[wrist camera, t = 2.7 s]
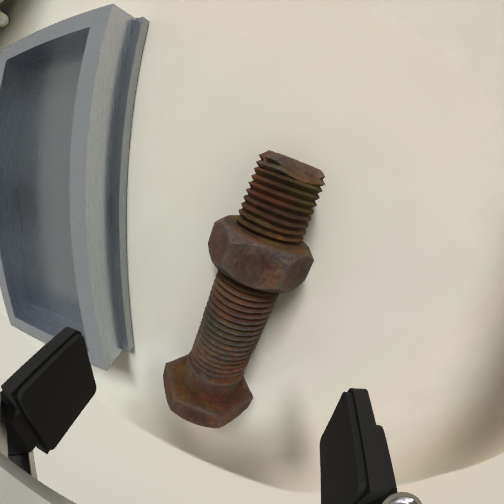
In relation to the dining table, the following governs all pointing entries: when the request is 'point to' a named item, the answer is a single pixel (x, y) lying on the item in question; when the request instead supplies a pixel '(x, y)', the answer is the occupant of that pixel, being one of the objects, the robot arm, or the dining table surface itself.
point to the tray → (69, 178)
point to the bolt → (245, 289)
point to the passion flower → (3, 18)
